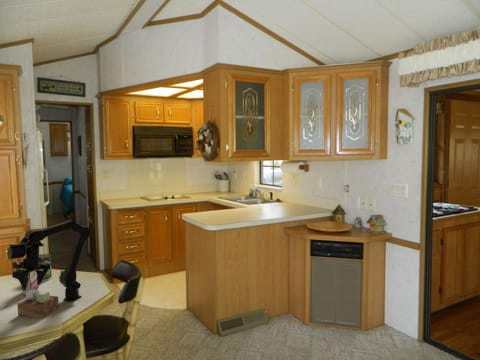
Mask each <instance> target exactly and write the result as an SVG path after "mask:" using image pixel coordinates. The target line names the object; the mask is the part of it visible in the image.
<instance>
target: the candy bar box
mask: <svg viewBox="0 0 480 360" xmlns="http://www.w3.org/2000/svg"><path fill="white" fill-rule="evenodd" d="M19 270H26V269H19ZM28 277H29V280H28V284H27V288H26V290H25V291H24V290H23V289H22V288H21V290H22V292H21V293H22V294H21V295H22V296H26V292H28V291H30V290H38V288H39V287H40V286H39V285H38V284H37V273H36V271H34V272H31V273H29V275H28Z"/></svg>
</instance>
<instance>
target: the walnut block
mask: <svg viewBox="0 0 480 360" xmlns="http://www.w3.org/2000/svg"><path fill="white" fill-rule="evenodd" d="M59 304H60V303H59V296H57V295H50V300H49V301H47V302H45V303H39V302H37V300H35V301H33V302H32V301H26V299H24V300H22V301H19V302H18V303H17V315H18V316H21V317H26V318H31V319H38V320H41V319H42V318H44V317H46V316H48V315H49V314H51V313H53V312H55V311H56V310H58V309H59V307H60V306H59ZM54 310H55V311H54Z"/></svg>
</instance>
